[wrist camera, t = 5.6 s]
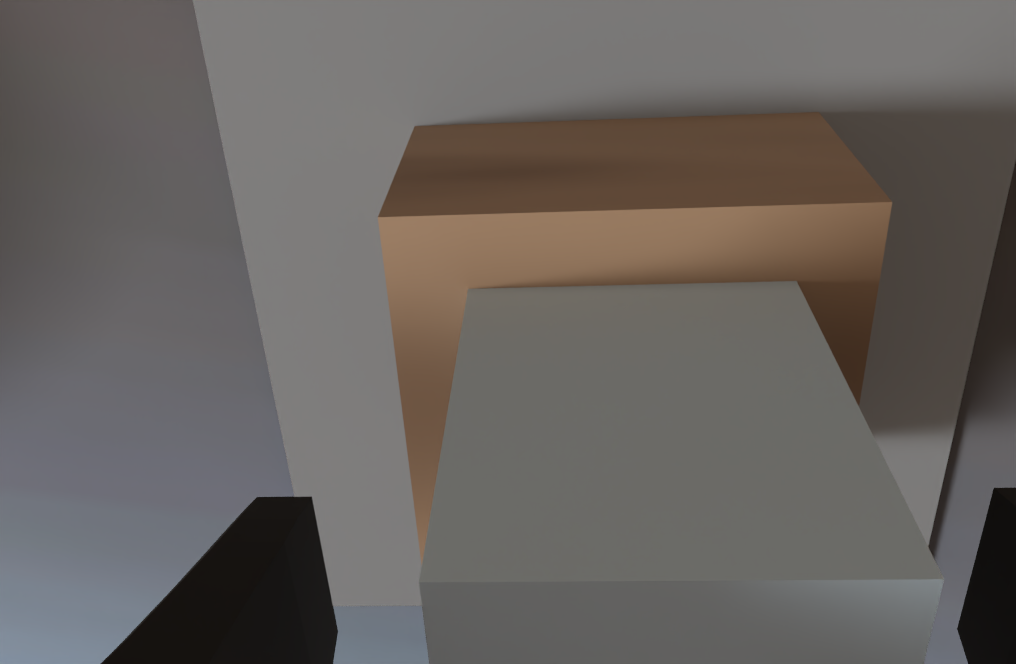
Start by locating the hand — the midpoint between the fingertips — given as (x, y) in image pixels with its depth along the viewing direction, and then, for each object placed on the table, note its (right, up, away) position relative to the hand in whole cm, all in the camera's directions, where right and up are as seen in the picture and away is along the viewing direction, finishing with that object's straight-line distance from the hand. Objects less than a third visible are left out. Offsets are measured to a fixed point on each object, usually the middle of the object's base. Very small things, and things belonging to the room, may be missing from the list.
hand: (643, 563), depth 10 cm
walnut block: (0, +3, +5) cm, 6 cm away
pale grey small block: (0, +1, +2) cm, 3 cm away
